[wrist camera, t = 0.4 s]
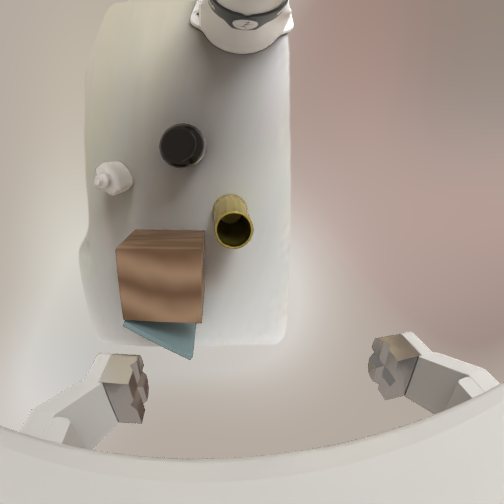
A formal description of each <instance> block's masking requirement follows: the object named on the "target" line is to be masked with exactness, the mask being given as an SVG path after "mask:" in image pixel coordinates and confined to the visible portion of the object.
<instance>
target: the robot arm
mask: <svg viewBox="0 0 504 504" xmlns="http://www.w3.org/2000/svg"><path fill="white" fill-rule="evenodd" d="M197 14H199V16H197ZM190 23H191V24H192V25H193V26H195V27H196V28H198V29H200V30H202V31H203V33H204V34H205V35H206V37H207V38H208V39H209V41H210V42H211V43H213V44H214V45H215V46H217V47H218V48H220V49H222V50H225V51H228V52H231V53H238V54H247V53H254V52H258V51H260V50H263V49H265V48H267V47H268V46H270V45H271V44H272V43H273V42H274V41H275V40H276V39H277V38H278V37H279V36H280V35H283V34H285V33H288V32H290V31H291V30H292V29H293V26H294V25H293V19H292V15H291V9H290V6H289V0H197V2H196V5H195V7H194V10H193V12H192V15H191V17H190ZM372 349H373V351H374V353H373V354H372V355H371V357H370V358H369V363H368V371H369V375H370V377H371V379H372V380H373V381H374V382H376V383H378V384H379V387H378V390H379V391H380V393H381V394H382V396H383V397H384V399H385V400H388V399H393V398H396V397H401V396H405V397H406V398H408V399H410V400H411V401H413V402H415V403H416V404H418V405H420V406H422V407H423V408H425V409H427V410H428V411H430V412H431V413H433V414H434V415H432V416H429V417H427V418H424V419H421V420H419V421H416V422H413V423H410V424H407V425H404V426H401V427H398V428H395V429H391V430H388V431H385V432H381V433H378V434H374V435H371V436H367V437H363V438H359V439H355V440H351V441H347V442H342V443H338V444H333V445H328V446H324V447H318V448H312V449H307V450H300V451H294V452H287V453H279V454H271V455H261V456H249V457H235V458H209V459H208V458H203V459H191V458H161V457H147V456H135V455H126V454H118V453H110V452H103V451H97V450H92V449H93V448H94V447H95V446H96V445H97V444H98V443H99V442H100V441H101V440H102V439H103V438H104V437H105V436H106V435H107V434H108V433H109V432H110V431H111V430H112V429H113V428H114V427H116V426H117V425H118V422H123V423H139V424H142V421H143V416H144V412H145V408H144V405H143V404H144V403H145V402H146V401H147V398H148V390H149V386H148V380H147V376H146V374H145V373H144V372H143V371H142V369H143V366H144V364H143V360H142V357H141V356H140V355H127V354H110V353H99V354H98V355H97V356H96V358H95V360H94V362H93V364H92V366H91V368H90V370H89V372H88V374H87V376H86V378H85V380H84V381H79V382H77V383H76V384H74V385H72V386H71V387H69V388H67V389H66V390H64V391H62V392H61V393H59V394H57V395H56V396H54V397H52V398H51V399H49V400H47V401H46V402H44V403H42V404H41V405H39V406H37V407H35V408H34V409H32V410H31V412H30V414H29V415H28V417H27V419H26V421H25V423H24V424H23V426H22V428H21V430H20V432H17V431H14V430H11V429H8V428H5V427H2V426H0V504H504V382H503V383H501V384H500V383H498V381H497V380H496V379H494V378H493V377H492V376H491V375H490V374H489V373H488V372H487V371H486V370H485V369H484V368H481V367H478V366H475V365H472V364H469V363H466V362H463V361H460V360H457V359H454V358H452V357H449V356H446V355H443V354H440V353H437V352H434V353H433V352H432V351H431V350H430V349H429V348H428V347H427V346H426V345H424V343H423V342H422V341H421V340H420V339H419V338H418V337H417V336H416V335H415V334H414V333H413V332H410V331H408V332H403V333H399V334H396V335H391V336H386V337H380V338H375V340H374V342H373V345H372Z"/></svg>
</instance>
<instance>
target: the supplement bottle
mask: <svg viewBox="0 0 504 504" xmlns="http://www.w3.org/2000/svg"><path fill="white" fill-rule="evenodd" d="M206 148H207V144H206V140H205V138H204V136H203V134H202V133H201V132H200V131H199V130H198V129H197V128H196V127H194V126H192V125H190V124H185V123H181V124H176V125H173V126H171V127H170V128H168V129H167V130H166V131H165V132H164V134H163V135H162V137H161V140H160V144H159V149H160V154H161V156H162V158H163V159H164V161H165V162H166V163H167V164H169V165H171V166H173V167H176V168H187V167H190V166H192V165H195V164H197V163H198V162H199V161H200V160H201V159H202V158H203V157H204V155H205V153H206Z"/></svg>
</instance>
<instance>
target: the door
mask: <svg viewBox="0 0 504 504" xmlns="http://www.w3.org/2000/svg"><path fill="white" fill-rule="evenodd" d="M123 326H124V327H126V328H128V329H129V330H131V331H133V332H135V333H137V334H139V335H141V336H142V337H144V338H146V339H148V340H150V341H152V342H154V343H156V344H158V345H160V346H162V347H164V348H166V349H168V350H170V351H172V352H174V353H176V354H178V355H180V356H182V357H185V358H187V359H189V360H191V358H192V357H193V350H194V339H195V329H196V323H179V322H155V321H137V320H125V322H124V324H123Z"/></svg>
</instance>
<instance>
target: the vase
mask: <svg viewBox="0 0 504 504" xmlns="http://www.w3.org/2000/svg"><path fill="white" fill-rule="evenodd" d="M213 215H214V222H215V234H216V237H217V240H218V241H219V242H220V243H221V244H222V245H223V246H225V247H227V248H231V249H237V248H241V247H243V246H244V245H246V244H247V243H248V242H249V241H250V239H251V237H252V235H253V225H252V222H251V220H250V217H249V214H248V212H247V206H246V203H245V202H244V200H243V199H242V198H240V197H239V196H237V195H233V194H228V195H224V196H222V197H220V198H219V199H218V200H217V201H216V203H215V205H214V208H213Z"/></svg>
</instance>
